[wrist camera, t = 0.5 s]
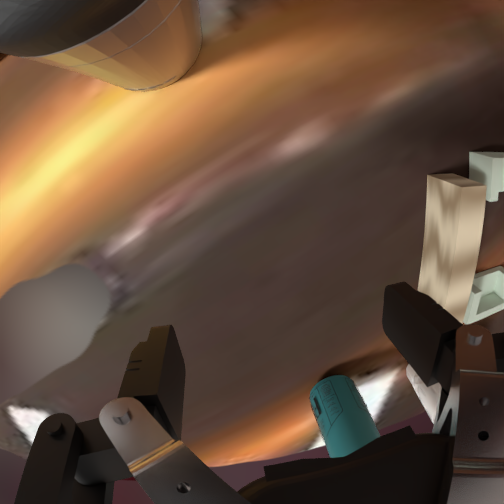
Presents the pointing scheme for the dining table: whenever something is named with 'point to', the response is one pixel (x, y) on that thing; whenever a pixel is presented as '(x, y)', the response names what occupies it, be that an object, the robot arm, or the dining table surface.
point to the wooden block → (451, 240)
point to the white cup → (424, 392)
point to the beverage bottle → (342, 415)
